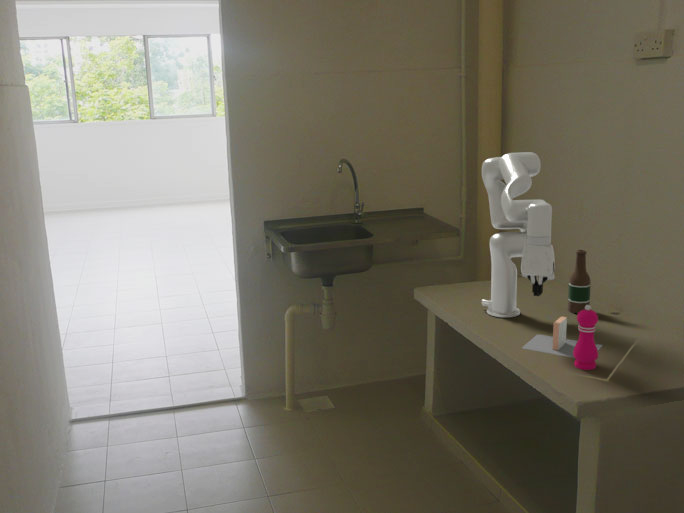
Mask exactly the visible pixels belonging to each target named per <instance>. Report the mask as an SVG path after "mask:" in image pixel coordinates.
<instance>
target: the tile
mask: <svg viewBox="0 0 684 513" xmlns="http://www.w3.org/2000/svg"><path fill="white" fill-rule="evenodd" d="M567 320H568V317H567V316H560V317H558V318H557V319H556V321H554V322H553V324H552V326H553V328H552V337H553V350H559V349H560V348H561V347H562V346H563V345H564V344H565V343H566V339H567V322H568V321H567Z"/></svg>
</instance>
